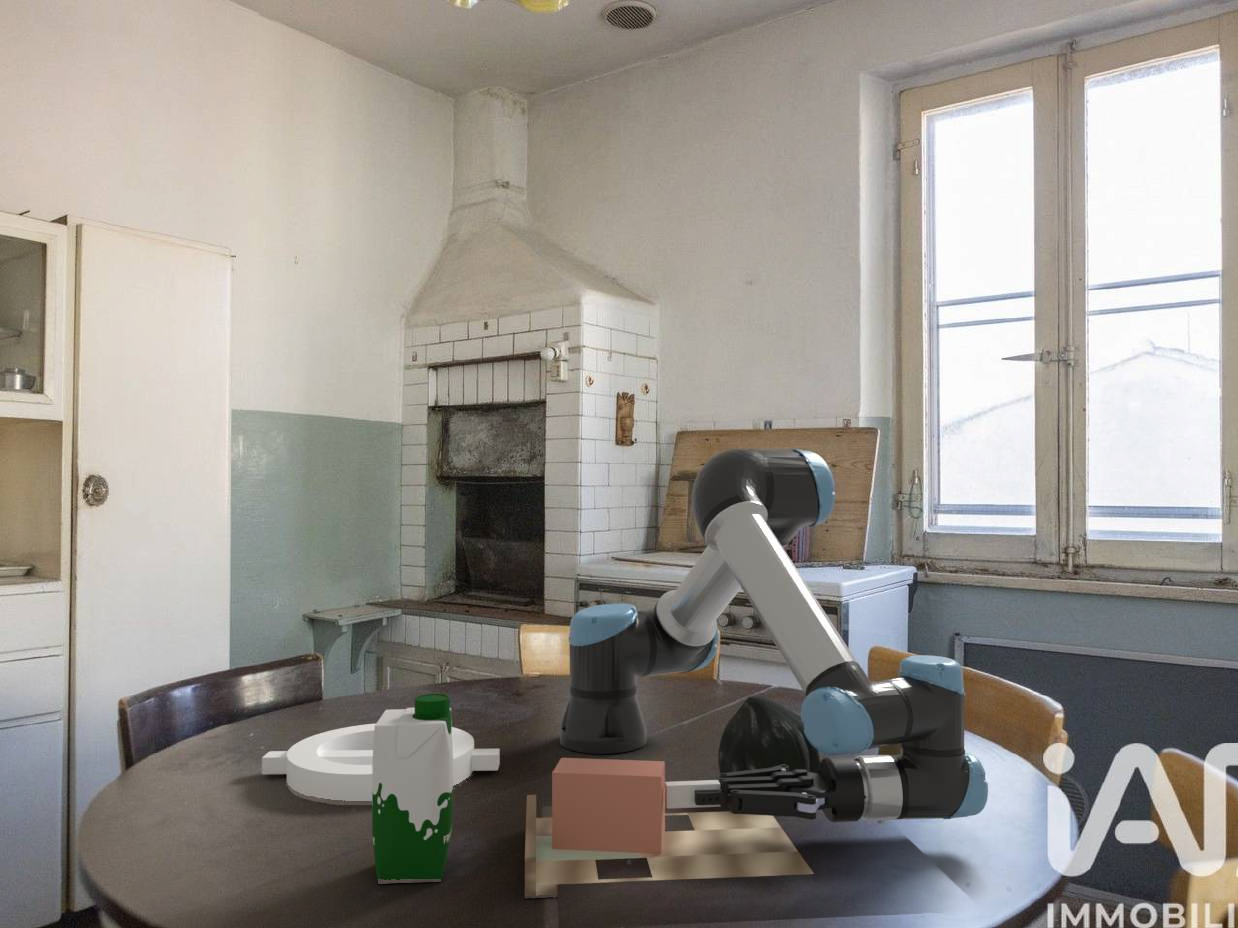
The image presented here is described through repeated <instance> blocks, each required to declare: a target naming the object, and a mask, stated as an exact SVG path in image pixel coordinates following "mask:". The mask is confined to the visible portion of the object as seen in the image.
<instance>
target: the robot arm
mask: <svg viewBox="0 0 1238 928" xmlns="http://www.w3.org/2000/svg"><path fill="white" fill-rule="evenodd" d="M693 482H694V483H693V486H692V491H691V507H692V510H691V511H692V514H693V518H694V522H695V524H696V526H697V529H698V532H699V533H700V535H701V536H702V538H703V540H704V541H705V544H706V545H707V546H706V547H705V549H704V550H703V552H702V553H701V555H700V556H699V557H698V558H697V560H696V562H695V563H694V565H693V566H692V567H691V569H690V570H689V571H688V573H687V574H686V576H685V577H684V578H683V580H682V581H681V583H680V584H679V586H678V587H677V588H676V589H672V590H668V591H666V592H665V593H663V594H662V595H661V596H660V598H659V599H658V600H657V602H656V604H655V605H654V606H653V607H652V608H651V609H641V610H637V608H636V606H635V605H633V604H631V603H624V602H622V603H621V602H618V603H617V602H616V603H611V604H610V603H609V604H608V603H605V604H598V605H593V606H588V607H586V608H582V609H581V610H579V611H577V612H576V613H574V614H573V616H572V617H571V619H570V625H569V634H568V635H569V636H568V643H569V699H568V702H567V705H566V710H565V712H564V715H563V718H562V722H561V725H560V728H559V745H561V747H564V748H565V749H568V750H571V751H573V752H578V753H583V754H597V755H599V754H600V755H602V754H603V755H606V754H607V755H609V754H621V753H627V752H631V751H635V750H638V749H641V748H643V747H644V746H646V745H647V741H648V738H647V737H648V732H647V727H646V723H645V721H644V716H643V713H642V710H641V708H640V703H639V701H638V700H639V699H638V696H637V693H638V692H637V688H638V687H637V678H638V679H639V678H645V677H652V676H660V675H668V674H669V675H670V674H677V673H679V674H685V673H686V674H687V673H690V672H694V671H697V670H701V669H703V668H704V667H706V666H708V665H709V664H710V663H711V661H712V660H713V659H714V657H715V655H716V653H717V650H718V646H717V642H719V629H718V623H717V619H719V617H720V616H721V614H722V613H723V612H724V611H725V609H726V608H727V607H728V605H729V604H730V603H731V602H732V601H733V599H734V598H735V597H736V596H737V594H738V593H739V592H740V590H741V589H742V591H743V592H744V594H745V596H746V598H747V599H748V601H749V603H750V604H751V606H752V607H753V609H754V610H755V612H756V614H757V616H758V617H759V619H760V621H761V623H762V624H763V626H764V628H765V629H766V631H767V633H768V634H769V635H770V637H771V639H772V641H773V643H774V644H775V646H776V648H777V650H778V651H779V652H780V654H781V656H782V657H783V659H784V660H785V663H786V664H787V667H788V668H789V669H790V670H791V673H792V674H793V676H794V678H795V680H796V681H797V682H798V684H799V686H800V688H801V689H802V691H803V693H804V695H805V698H804V699H803V702H802V704H801V709H800V717H801V721H802V722H803V723H804V733H805V735H806V737H807V739H808V741H809V742H810V743H811V745H812V746H813V747H814V748H816V749H817V750H818V751H819V753H822V754H824V755H829V756H828V757H826V756H825V757H823V758H822V759H821V760H820V765H819V769H818V771H817V772H816V773H813V772H807V770H804V769H795V770H793V771H791V772H789V766H788V765H785V764H782V765H779V766H775V767H772V768H763V769H755V770H746V771H737V772H729V773H721V774H720V773H719V778H717V779H709V780H708V779H707V780H705V779H704V780H703V779H702V780H681V781H680V780H676V781H665V809H683V808H684V809H686V808H687V809H688V808H689V809H690V808H716V807H719V808H722V809H726V810H728V809H729V810H730V811H731V813H733V814H749V815H769V816H773V817H791V818H792V817H793V818H800V819H805V820H812V821H813V820H816V819H817V810H818V811H822V812H823V815H824V817H825V818H826V820H828V821H829V822H832V823H847V822H848V823H849V822H850V823H852V822H858V821H859V820H861V819H862V820H863V821H867V822H868V821H875V822H876V824H881V825H882V824H884V822H885V821H887V820H888V821H890V820H891V821H892V820H893V821H894V820H920V819H921V820H922V819H924V820H927V819H928V820H929V819H933V820H934V819H943V820H951V819H959V818H967V817H971V816H976V815H978V814H980V813H981V812H982V811H984V809H985V807H986V805H987V802H988V796H989V783H988V782H987V780H986V770H985V768H984V766H983V764H982V762H981V760H980V759H979V758H978V757H977V756H976V755H975V754H972V753H969V752H966V749H965V697H966V692H965V691H964V690H965V687H964V686H965V685H964V672H963V667H962V665H961V664H960V663H959V662H958V661H957V660H955V659H952V658H949V657H944V656H938V655H927V654H926V655H925V654H924V655H923V654H922V655H919V654H918V655H909V656H906V657H904V658H902V660H900V663H899V669H898V670H899V671H898V672H897V674H898V675H897V677H893V678H888V679H879V680H873V681H871V680H870V678H869V676H868V675H867V674H866V672H865V671H864V669H863V668H862V667H861V665H860V664H859V662H858V661H857V659H856V658H855V656H854V654H853V653H852V652H851V650H850V649H849V647H848V646H847V644H846V643H845V641H844V639H843V638H842V636H841V634H840V633H839V632H838V630H837V629H836V627H835V626H834V624H833V622H832V621H831V619H830V617H828V614H826V612H825V610H824V609H823V607H822V605H821V604H820V603H819V601H818V599H817V598H816V596H815V595H814V594H813V592H812V590H811V589H810V587H809V585H808V583H807V582H806V581H805V580H804V577H803V576H802V575H801V573H800V572H799V570H798V568H797V567H796V566H795V565H794V562H793V560H791V558H790V556H789V555H788V553H787V551H786V550H785V547H786V546H788V544H790V543H791V541H793V538H795V536H796V535H797V534H798V533H799V532H800V530H801V529H802V528H804V527H811V528H812V527H816V526H818V525H822V524H824V523H825V522H826V521H827V520H828V518H829V517H830V516H831V514H832V512H833V509H834V506H835V499H836V491H835V487H836V486H835V482H834V477H833V474H832V471H831V469H830V466H829V465H828V464H827V462H826V461H825V460H824V459H823V457H821V455H819V454H818V453H815V452H813V451H809V450H803V449H799V448H790V449H789V448H788V449H785V448H784V449H782V448H781V449H780V448H779V449H776V448H774V449H772V448H771V449H770V448H768V449H766V448H764V449H763V448H761V449H760V448H759V449H758V448H757V449H756V448H753V449H752V448H748V449H747V448H730V449H727V450H723V451H721V452H719V453H717V454H715V455H713V456H712V457H711V458H709V460H707V461H706V462H705V463H704V465H702V467H701V468H700V469H699V471H698V473H697V475H696V477H695V480H694V481H693ZM899 743H900V746H901V754H900V755H878V754H875V755H873V754H872V755H871V754H869V755H868V754H866V755H857V756H856V757H854V758H853V757H852V756H837V755H847V754H848V755H849V754H850V755H854V754H860V753H861V754H862V753H863V752H864V751H867V750H872V749H877V748H879V747H882V746H886V745H894V744H899ZM830 755H831V756H830Z"/></svg>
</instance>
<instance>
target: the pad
mask: <svg viewBox="0 0 1238 928" xmlns="http://www.w3.org/2000/svg"><path fill="white" fill-rule="evenodd" d="M588 859H595V861H596V860H597V861H599V860H621V859H622V860H623V859H624V860H625V859H639V858H638V855H637V853H630V852H608V851H587V850H566V849H552V836H536V862H537V861H561V860H562V861H563V860H588Z"/></svg>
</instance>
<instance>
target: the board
mask: <svg viewBox="0 0 1238 928" xmlns="http://www.w3.org/2000/svg"><path fill="white" fill-rule="evenodd" d="M525 812H526V813H525V814H526V815H525V817H526V818H525V842H524V843H525V846H524V847H525V848H524V897H525V896H538V895H559V894H558V885H577V884H578V885H579V884H580V885H581V884H603V883H623V882H625V883H626V882H650V881H651V882H652V881H654V882H655V881H671V880H672V881H675V880H676V881H677V880H696V879H697V880H699V879H702V880H703V879H723V878H725V879H726V878H746V877H747V878H748V877H749V878H750V877H771V876H772V877H773V876H774V877H775V876H777V877H778V876H797V875H798V876H799V875H814V872H813V870H812V869H811V867H810V866H809V865H808V863H807V862H806V860H805V859H804V857H803V856H802V854H801V853H800V852H799V850H798V849H797V847H796V846H795V845H794V844H793V842H792V841H791V839H790V838H789V837H788V835H787V833H786V832H785V831H784V829H783V828H782V826H781V825H780V823H779V822H778V821H777V820H776V818H775V816H769V815H749V814H733V813H731V810H730V811H728V810H727V811H703V812H701V811H699V812H698V811H697V812H674V813H673V812H672V813H671V812H670V813H665V817H668V816H669V817H670V816H671V817H672V816H673V817H674V816H675V817H676V816H687V817H688V818H689V821H690V824H691V826H692V828H693V830H675V831H673V830H672V831H669V830H668V831H665V837H664V842H663V848H662V853H661V854H651V853H637V855H638V858H637V859H645V858H646V860H647V864H648V867H649V871H650V874H651V877H631V878H630V877H628V878H607V879H606V878H605V879H604V878H602V879H599V876H598V870H597V863H596V860H595V859H588V860H563V861H562V860H561V861H537V862H536V836H552V816H551V817H537V794H527V795H526V811H525Z"/></svg>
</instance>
